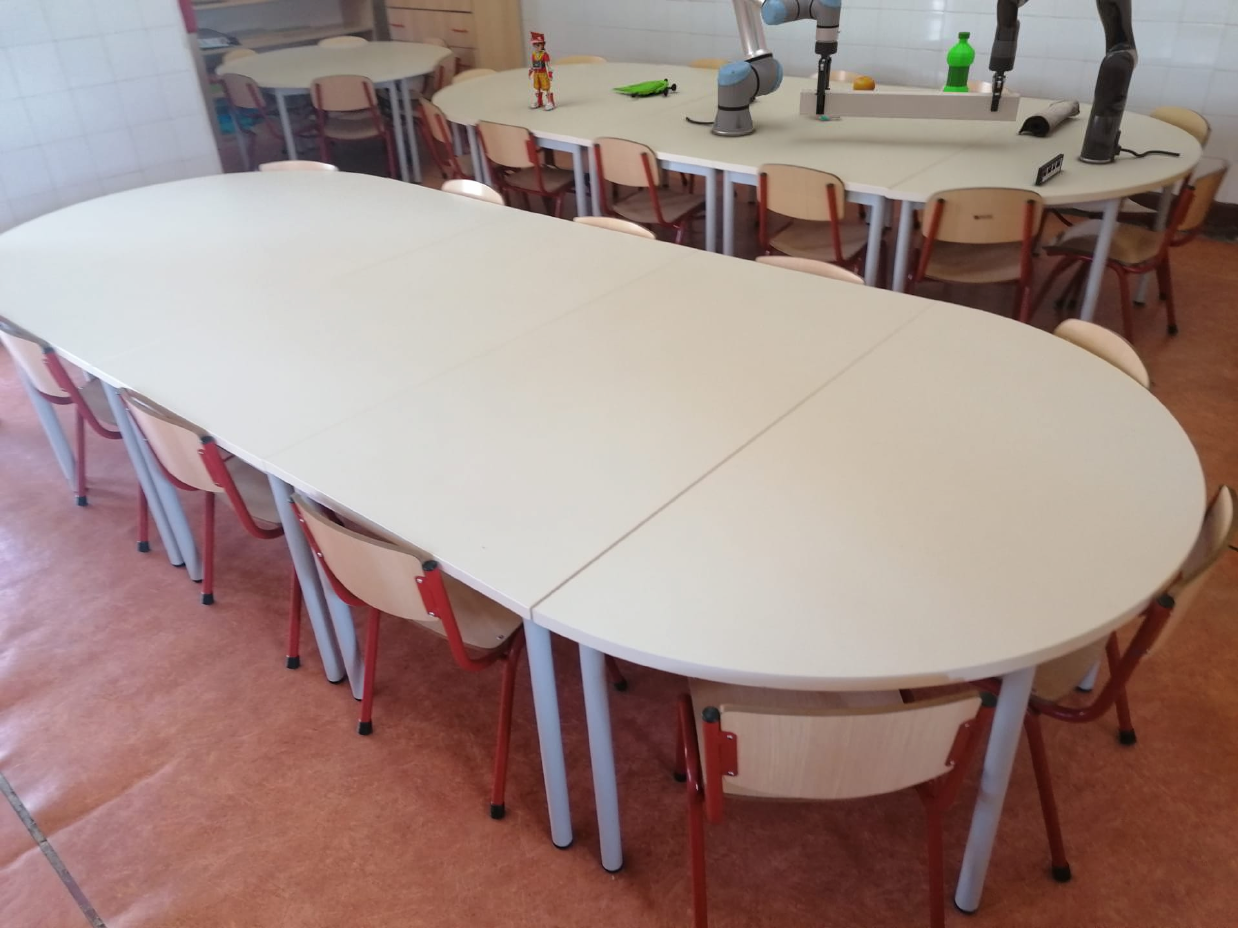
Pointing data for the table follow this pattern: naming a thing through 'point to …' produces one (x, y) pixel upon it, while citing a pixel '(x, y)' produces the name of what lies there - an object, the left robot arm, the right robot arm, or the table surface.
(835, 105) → the bar
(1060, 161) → the midi keyboard
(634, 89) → the toy
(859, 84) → the fruit
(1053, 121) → the rolled mat
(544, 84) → the toy
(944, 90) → the plastic bottle
